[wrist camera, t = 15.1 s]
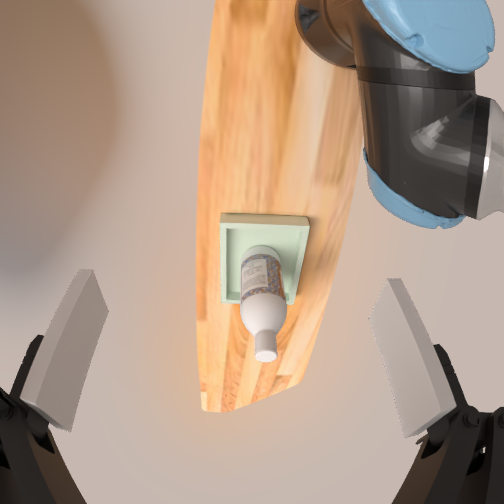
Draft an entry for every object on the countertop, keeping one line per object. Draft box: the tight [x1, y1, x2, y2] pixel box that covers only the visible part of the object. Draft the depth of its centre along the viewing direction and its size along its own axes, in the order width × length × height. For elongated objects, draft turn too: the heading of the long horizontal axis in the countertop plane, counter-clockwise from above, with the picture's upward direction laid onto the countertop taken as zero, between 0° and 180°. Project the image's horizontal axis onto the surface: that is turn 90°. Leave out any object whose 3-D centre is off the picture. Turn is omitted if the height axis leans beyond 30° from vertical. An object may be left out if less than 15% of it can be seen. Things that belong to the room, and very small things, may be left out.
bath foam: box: [240, 246, 287, 362], centre depth 44 cm, size 7×7×20 cm
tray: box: [220, 213, 310, 305], centre depth 52 cm, size 18×14×3 cm
